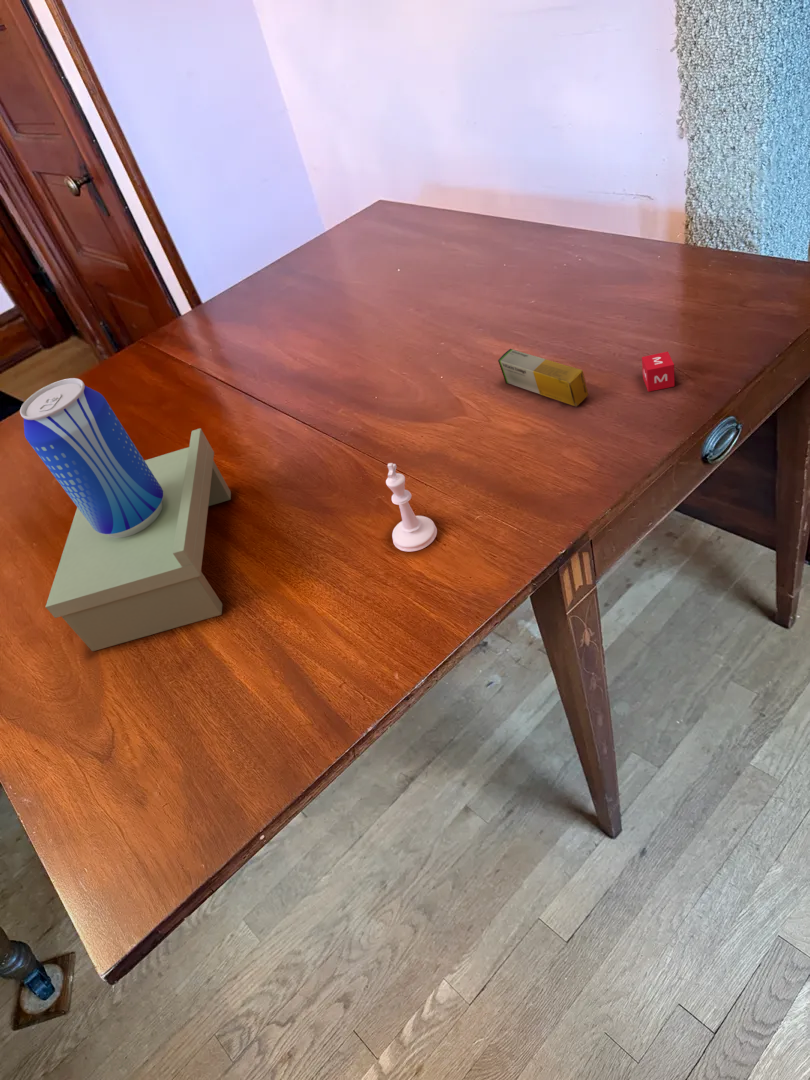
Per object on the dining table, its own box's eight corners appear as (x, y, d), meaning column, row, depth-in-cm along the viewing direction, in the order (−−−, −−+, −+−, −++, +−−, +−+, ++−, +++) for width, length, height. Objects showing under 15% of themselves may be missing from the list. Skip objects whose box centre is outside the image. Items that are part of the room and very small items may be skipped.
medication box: (503, 384, 97) (495, 359, 95) (517, 372, 98) (510, 346, 95) (576, 408, 89) (569, 381, 86) (590, 394, 90) (584, 367, 87)
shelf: (87, 654, 81) (33, 594, 74) (119, 524, 97) (77, 465, 91) (226, 614, 80) (183, 549, 73) (234, 490, 96) (200, 427, 89)
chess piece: (388, 552, 80) (360, 482, 73) (398, 520, 83) (373, 450, 77) (432, 551, 78) (407, 479, 72) (440, 518, 82) (418, 447, 75)
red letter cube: (674, 386, 88) (674, 364, 86) (648, 391, 88) (647, 370, 86) (668, 373, 90) (667, 351, 88) (642, 378, 90) (641, 356, 88)
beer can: (86, 524, 84) (-1, 409, 74) (148, 482, 87) (73, 365, 77) (116, 553, 79) (26, 433, 68) (181, 507, 82) (105, 384, 71)
